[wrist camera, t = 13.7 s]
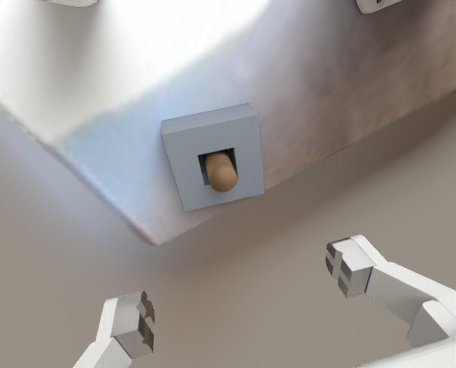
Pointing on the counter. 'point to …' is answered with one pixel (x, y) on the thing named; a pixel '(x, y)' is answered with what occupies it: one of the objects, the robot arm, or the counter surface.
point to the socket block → (210, 142)
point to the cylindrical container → (74, 2)
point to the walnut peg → (220, 171)
